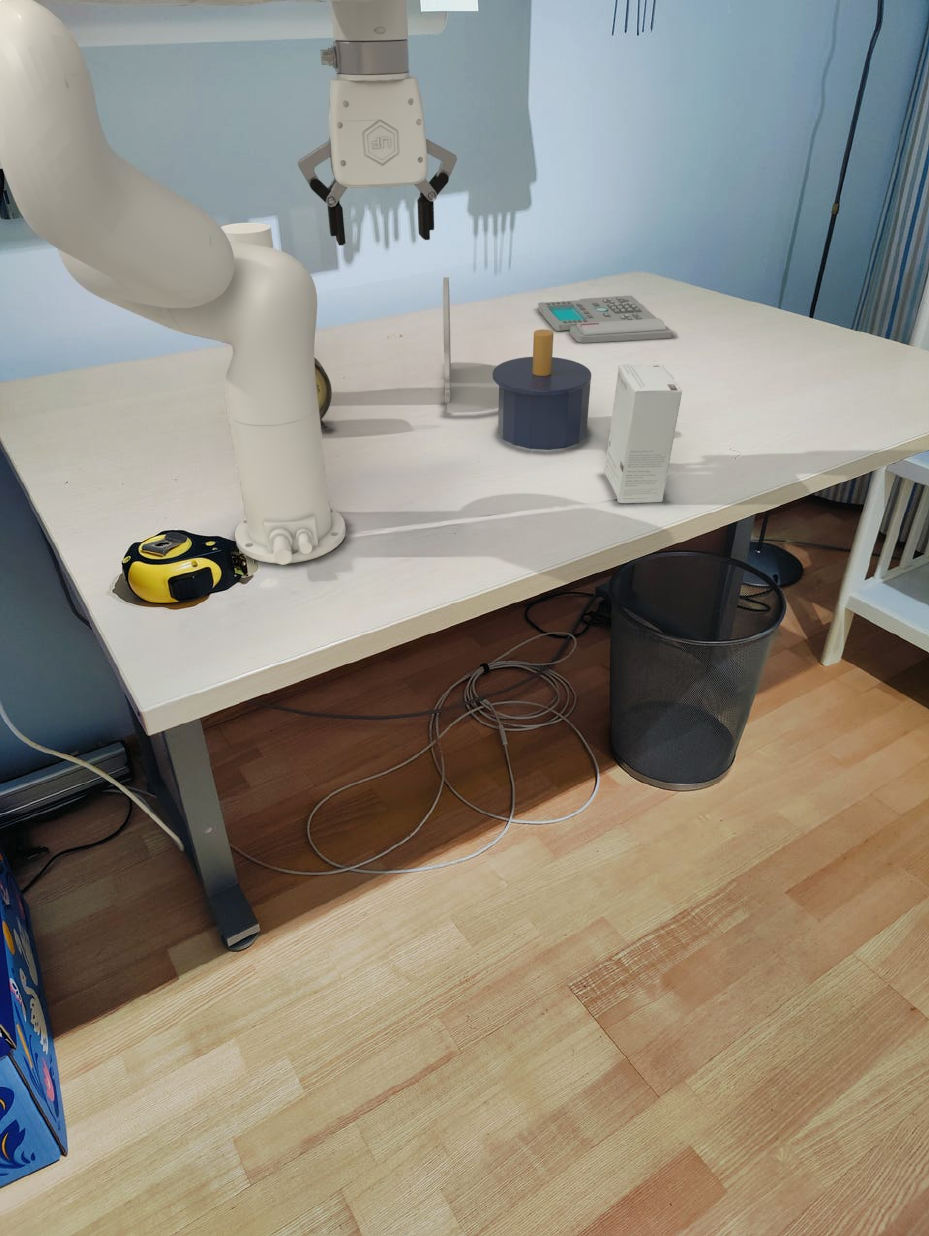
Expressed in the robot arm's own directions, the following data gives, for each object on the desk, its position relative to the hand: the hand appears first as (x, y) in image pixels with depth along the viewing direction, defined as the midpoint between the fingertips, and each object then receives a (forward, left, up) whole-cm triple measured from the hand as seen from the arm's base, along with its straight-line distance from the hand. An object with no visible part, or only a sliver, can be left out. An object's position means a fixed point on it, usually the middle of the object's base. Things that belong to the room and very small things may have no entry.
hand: (382, 240), depth 99 cm
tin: (+5, -22, -28) cm, 36 cm away
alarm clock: (+15, +12, -28) cm, 34 cm away
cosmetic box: (-14, -28, -28) cm, 42 cm away
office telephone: (+52, -49, -28) cm, 77 cm away
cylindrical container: (+28, +15, -28) cm, 43 cm away
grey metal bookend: (+24, -19, -28) cm, 42 cm away
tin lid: (+5, -22, -20) cm, 30 cm away
